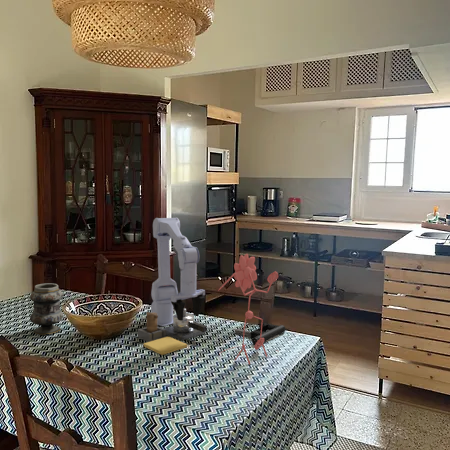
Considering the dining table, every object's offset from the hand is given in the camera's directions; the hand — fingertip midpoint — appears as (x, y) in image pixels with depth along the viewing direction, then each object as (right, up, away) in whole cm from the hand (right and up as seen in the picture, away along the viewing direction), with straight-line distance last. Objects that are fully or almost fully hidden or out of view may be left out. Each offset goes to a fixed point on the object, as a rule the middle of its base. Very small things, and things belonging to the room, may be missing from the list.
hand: (188, 317), depth 163 cm
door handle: (+26, -10, +11) cm, 30 cm away
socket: (-14, -9, +7) cm, 18 cm away
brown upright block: (-14, -9, +7) cm, 18 cm away
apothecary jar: (-56, -8, +12) cm, 58 cm away
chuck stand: (-3, -8, +12) cm, 15 cm away
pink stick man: (+20, -11, -9) cm, 24 cm away
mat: (-8, -10, -3) cm, 13 cm away
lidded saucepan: (0, -7, +9) cm, 11 cm away
